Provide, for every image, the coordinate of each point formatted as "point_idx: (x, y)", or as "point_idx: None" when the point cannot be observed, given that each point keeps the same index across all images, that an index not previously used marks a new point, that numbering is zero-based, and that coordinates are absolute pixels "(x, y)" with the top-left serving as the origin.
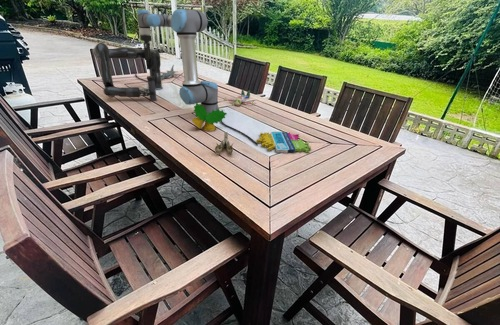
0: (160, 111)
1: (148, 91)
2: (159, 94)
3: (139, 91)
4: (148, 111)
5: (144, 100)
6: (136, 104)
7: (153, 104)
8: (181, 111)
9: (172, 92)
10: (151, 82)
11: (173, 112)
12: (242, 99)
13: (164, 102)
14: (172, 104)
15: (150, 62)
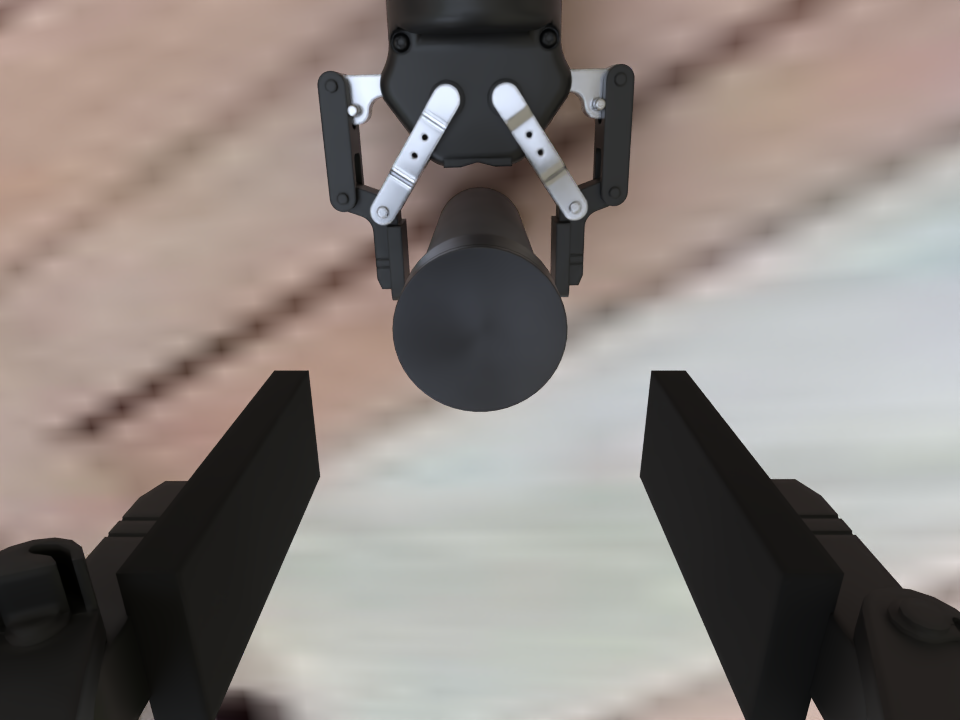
0: (43, 350)
1: (595, 174)
2: (771, 282)
3: (428, 45)
4: (11, 220)
5: None
6: (272, 18)
7: (296, 249)
8: (91, 540)
9: (847, 435)
10: None
11: (42, 474)
12: None
13: (391, 369)
14: (318, 455)
15: (691, 550)
